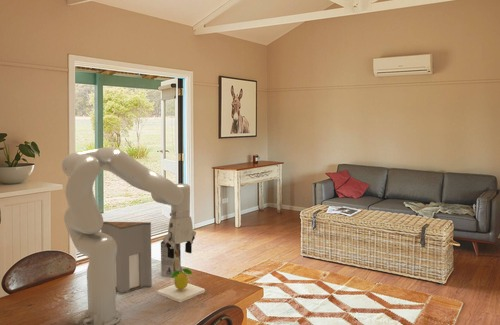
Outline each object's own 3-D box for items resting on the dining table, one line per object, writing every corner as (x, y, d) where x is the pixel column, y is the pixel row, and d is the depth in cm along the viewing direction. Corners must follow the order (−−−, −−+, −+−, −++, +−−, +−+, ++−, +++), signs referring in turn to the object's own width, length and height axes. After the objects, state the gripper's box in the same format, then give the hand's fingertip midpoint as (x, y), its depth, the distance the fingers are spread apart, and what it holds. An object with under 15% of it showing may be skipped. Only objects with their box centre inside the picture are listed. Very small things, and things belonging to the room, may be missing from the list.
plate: (180, 302, 170) (180, 299, 170) (157, 293, 179) (156, 290, 179) (205, 291, 181) (205, 289, 181) (182, 283, 190) (182, 281, 190)
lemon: (192, 289, 181) (192, 266, 180) (183, 294, 176) (183, 270, 175) (180, 286, 184) (180, 263, 183) (170, 290, 179) (170, 267, 178)
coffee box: (168, 269, 208) (168, 236, 207) (181, 270, 207) (180, 237, 205) (160, 275, 199) (160, 241, 198) (174, 277, 198) (173, 242, 196)
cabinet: (151, 285, 187) (150, 222, 185) (145, 294, 178) (144, 227, 175) (103, 284, 188) (102, 221, 185) (95, 293, 178) (93, 227, 176)
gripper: (170, 218, 168) (169, 261, 169) (201, 212, 181) (201, 252, 182) (157, 215, 172) (157, 257, 174) (189, 210, 186) (188, 249, 187)
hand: (179, 255), depth 178 cm, fingers open, 9 cm apart
